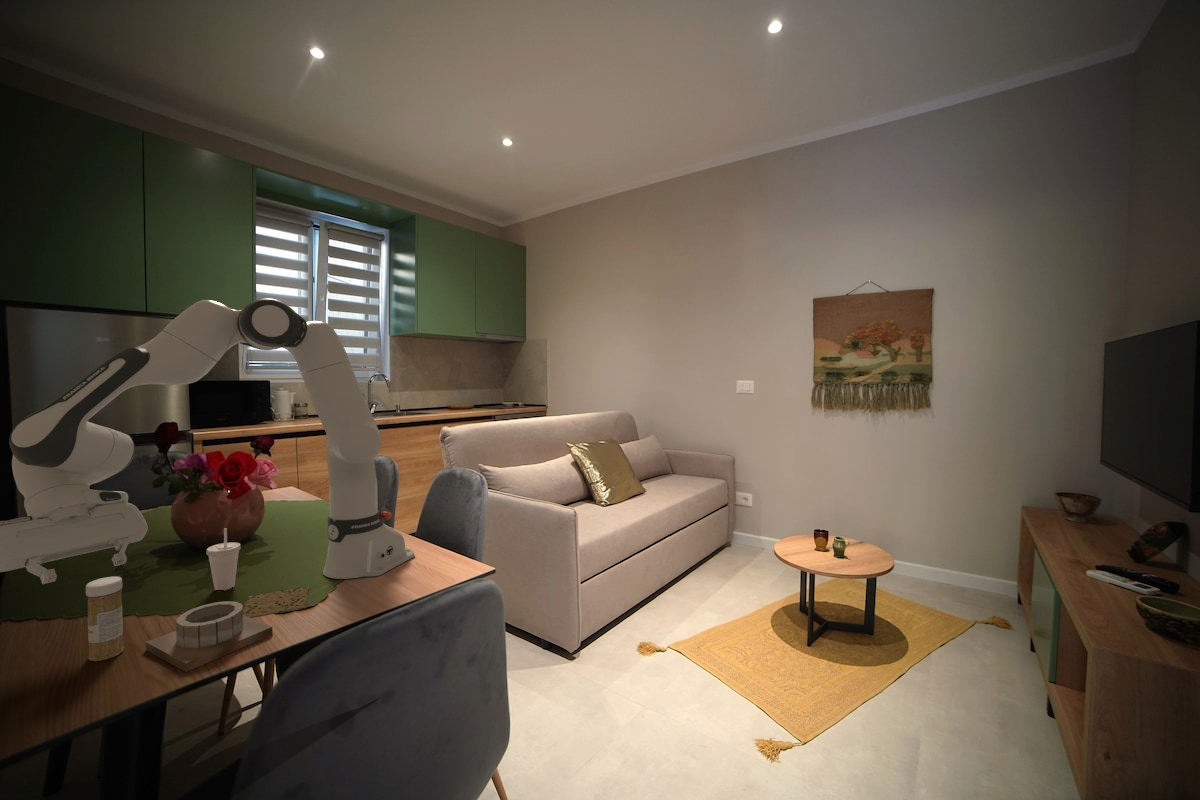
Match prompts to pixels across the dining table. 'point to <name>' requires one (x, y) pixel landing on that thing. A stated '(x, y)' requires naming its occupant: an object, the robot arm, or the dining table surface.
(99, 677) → the dining table surface
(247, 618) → the collar stand
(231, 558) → the smoothie
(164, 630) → the dining table surface
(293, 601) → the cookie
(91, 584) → the sprinkles bottle
